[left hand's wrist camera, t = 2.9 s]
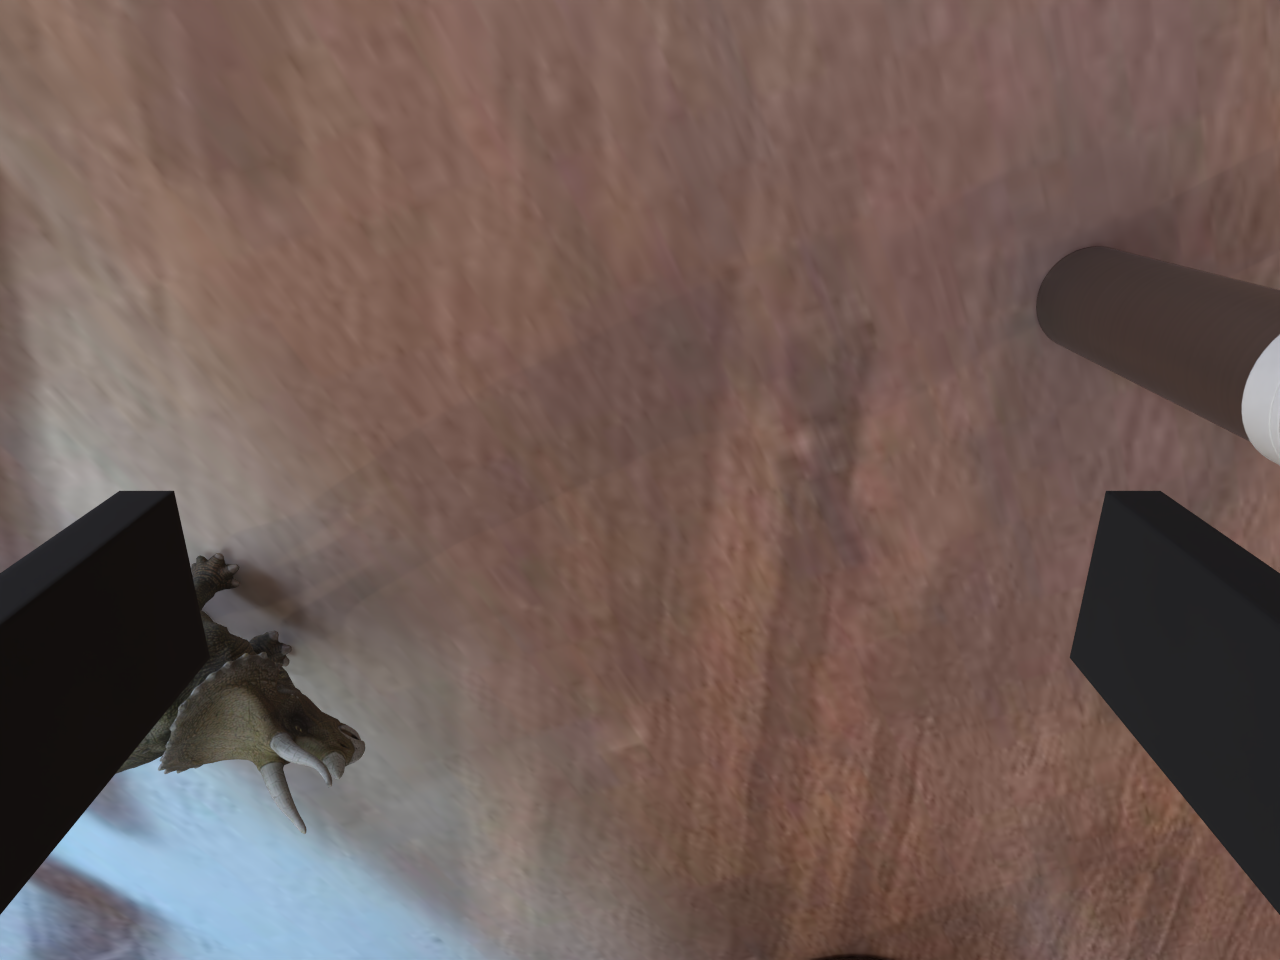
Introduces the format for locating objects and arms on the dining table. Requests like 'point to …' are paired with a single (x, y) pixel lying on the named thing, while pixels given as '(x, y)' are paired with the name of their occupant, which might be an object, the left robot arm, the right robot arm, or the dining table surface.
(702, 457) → the dining table surface
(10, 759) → the left robot arm
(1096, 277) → the jar
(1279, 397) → the lid
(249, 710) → the toy dinosaur
